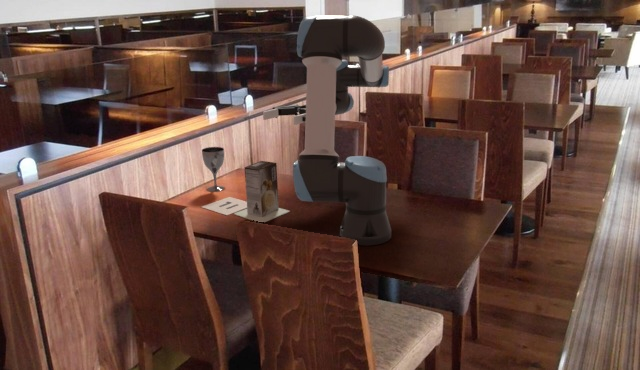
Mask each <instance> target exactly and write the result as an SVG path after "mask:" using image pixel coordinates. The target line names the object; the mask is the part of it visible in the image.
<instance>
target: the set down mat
mask: <svg viewBox="0 0 640 370" xmlns="http://www.w3.org/2000/svg"><path fill="white" fill-rule="evenodd" d="M290 212H291V210H288V209H284V208H282V207H279V209H277V210H275V211H273V212H271V213H269V214H267V215H265V216H264V217H259V216H255V215H250V214H248V212H247V208H246V209H243V210H241V211H238V212H235V213H233V215H234V216H237V217H239V218H240V217H241V218H244V219H246V220H249V221H253V220H254V221H253V222H256V221H258V222H257V223H259V222H264V223H266V222H269V221H272V220H273V219H276V218H278V217H281V216H283V215H285V214H288V213H290Z"/></svg>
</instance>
